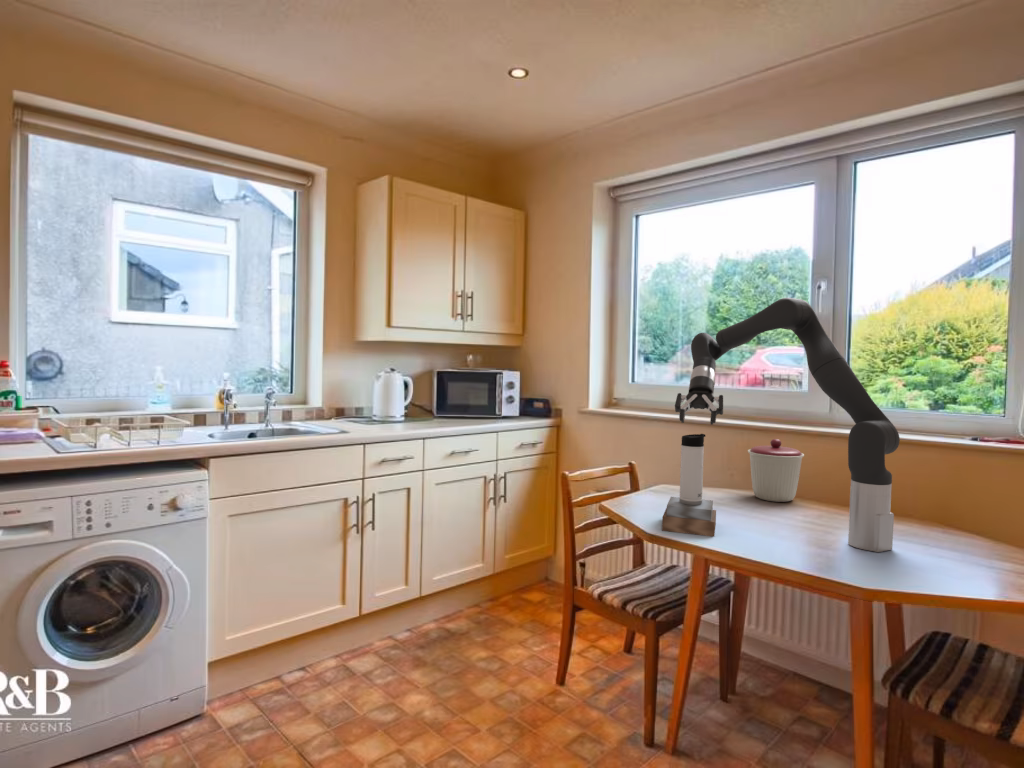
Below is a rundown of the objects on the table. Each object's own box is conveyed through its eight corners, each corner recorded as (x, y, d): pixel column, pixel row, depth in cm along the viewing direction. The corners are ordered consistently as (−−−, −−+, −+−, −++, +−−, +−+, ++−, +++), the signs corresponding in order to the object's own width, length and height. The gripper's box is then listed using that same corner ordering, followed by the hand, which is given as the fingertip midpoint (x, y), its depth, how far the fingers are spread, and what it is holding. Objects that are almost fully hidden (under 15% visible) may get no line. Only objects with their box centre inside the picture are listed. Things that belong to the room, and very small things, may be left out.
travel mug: (705, 505, 172) (708, 435, 171) (682, 505, 172) (684, 435, 171) (699, 500, 179) (701, 432, 178) (677, 500, 179) (679, 432, 178)
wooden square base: (715, 523, 180) (716, 500, 180) (714, 536, 167) (715, 511, 166) (667, 518, 185) (667, 495, 184) (662, 530, 171) (662, 506, 171)
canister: (752, 490, 226) (754, 434, 225) (806, 497, 215) (808, 438, 214) (740, 499, 211) (742, 439, 210) (797, 508, 201) (799, 444, 199)
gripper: (678, 374, 195) (671, 412, 185) (725, 375, 189) (721, 415, 179) (680, 389, 200) (673, 428, 190) (725, 391, 194) (722, 431, 184)
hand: (697, 422), depth 184 cm, fingers open, 8 cm apart
